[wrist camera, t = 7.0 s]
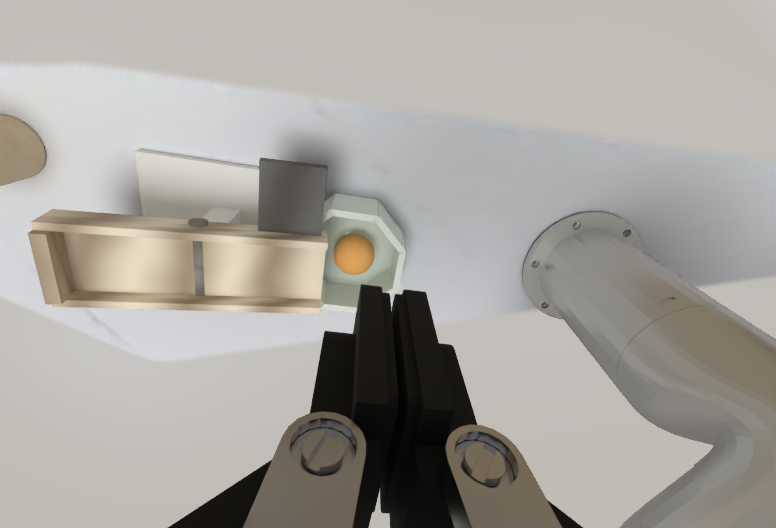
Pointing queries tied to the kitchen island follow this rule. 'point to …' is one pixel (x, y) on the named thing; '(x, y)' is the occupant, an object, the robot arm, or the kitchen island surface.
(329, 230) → the pale green bowl
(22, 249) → the kitchen island surface
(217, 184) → the lever stand
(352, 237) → the ball
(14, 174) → the candle
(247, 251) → the lever
